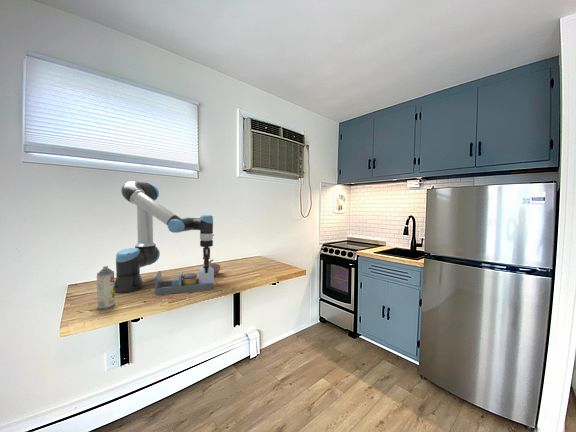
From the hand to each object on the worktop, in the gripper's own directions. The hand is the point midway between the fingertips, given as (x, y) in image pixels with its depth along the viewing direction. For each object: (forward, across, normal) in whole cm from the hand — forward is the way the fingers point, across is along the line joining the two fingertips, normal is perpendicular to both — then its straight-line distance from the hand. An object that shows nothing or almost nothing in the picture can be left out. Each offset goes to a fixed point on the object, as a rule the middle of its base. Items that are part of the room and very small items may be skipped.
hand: (206, 275), depth 146 cm
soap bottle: (+7, 0, 0) cm, 7 cm away
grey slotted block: (+7, 0, +11) cm, 13 cm away
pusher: (+7, 0, +17) cm, 18 cm away
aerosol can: (+7, -16, +47) cm, 50 cm away
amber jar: (+7, 0, +10) cm, 12 cm away
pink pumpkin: (+7, +22, -4) cm, 24 cm away
